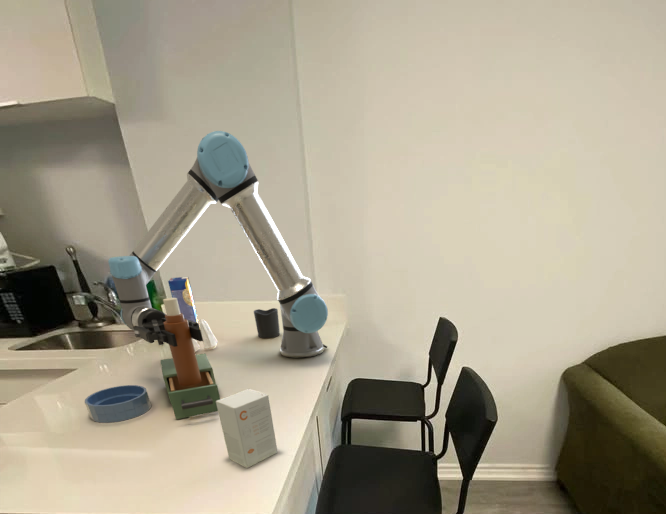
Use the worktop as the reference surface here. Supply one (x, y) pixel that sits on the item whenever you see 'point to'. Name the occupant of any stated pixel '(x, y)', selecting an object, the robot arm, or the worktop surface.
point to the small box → (247, 427)
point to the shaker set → (205, 337)
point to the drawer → (193, 397)
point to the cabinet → (170, 371)
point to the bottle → (181, 344)
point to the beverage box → (183, 297)
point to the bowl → (118, 403)
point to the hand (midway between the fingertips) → (187, 337)
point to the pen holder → (267, 323)
